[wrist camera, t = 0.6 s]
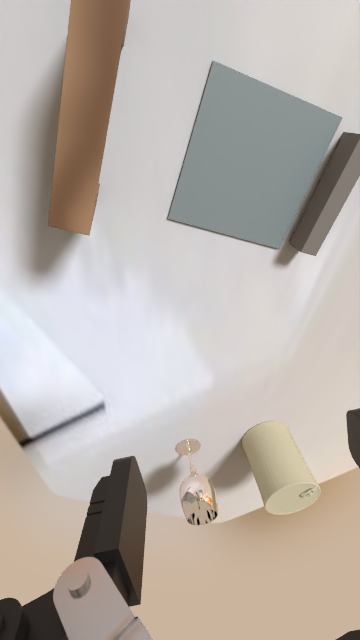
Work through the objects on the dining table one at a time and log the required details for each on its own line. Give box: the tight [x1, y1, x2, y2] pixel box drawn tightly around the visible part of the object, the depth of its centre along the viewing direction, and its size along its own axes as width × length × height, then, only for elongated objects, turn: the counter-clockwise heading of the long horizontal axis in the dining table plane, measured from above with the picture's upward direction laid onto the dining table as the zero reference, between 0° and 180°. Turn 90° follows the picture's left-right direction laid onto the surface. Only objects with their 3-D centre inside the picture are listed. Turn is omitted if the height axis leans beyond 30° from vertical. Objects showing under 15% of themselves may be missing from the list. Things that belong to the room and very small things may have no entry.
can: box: [242, 421, 321, 515], centre depth 55 cm, size 9×9×12 cm
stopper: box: [289, 132, 360, 256], centre depth 35 cm, size 2×12×3 cm, turn 163°
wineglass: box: [176, 439, 218, 525], centre depth 53 cm, size 6×6×12 cm
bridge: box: [48, 0, 130, 235], centre depth 25 cm, size 3×15×10 cm, turn 162°
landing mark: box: [168, 61, 342, 249], centre depth 33 cm, size 14×14×1 cm
